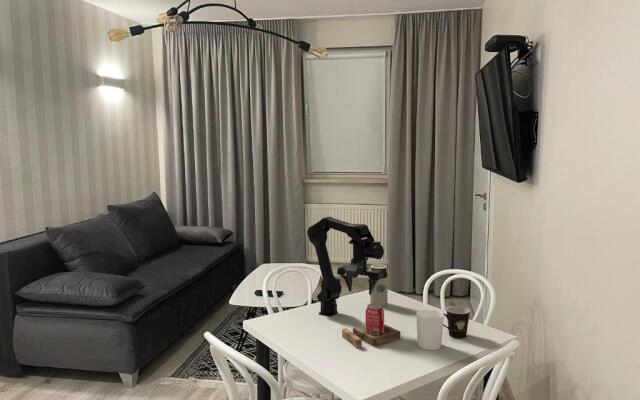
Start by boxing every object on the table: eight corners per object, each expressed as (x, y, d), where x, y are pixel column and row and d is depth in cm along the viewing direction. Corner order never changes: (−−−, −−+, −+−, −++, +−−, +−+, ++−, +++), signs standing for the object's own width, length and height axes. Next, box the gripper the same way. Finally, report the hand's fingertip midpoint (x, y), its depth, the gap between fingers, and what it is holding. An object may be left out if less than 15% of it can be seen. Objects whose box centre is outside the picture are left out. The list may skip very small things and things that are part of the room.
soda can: (378, 331, 189) (378, 301, 188) (387, 338, 183) (387, 307, 181) (362, 334, 186) (362, 304, 185) (371, 341, 180) (371, 309, 179)
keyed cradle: (352, 335, 186) (352, 328, 186) (378, 328, 193) (378, 321, 193) (374, 346, 176) (374, 339, 176) (400, 338, 183) (400, 331, 182)
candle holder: (427, 353, 170) (428, 320, 168) (410, 343, 178) (410, 312, 177) (449, 348, 174) (449, 315, 173) (431, 338, 183) (431, 307, 181)
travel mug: (370, 301, 228) (370, 263, 226) (387, 301, 227) (387, 264, 225) (370, 306, 220) (370, 268, 218) (387, 307, 219) (388, 268, 218)
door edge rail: (361, 347, 175) (361, 339, 175) (356, 348, 175) (356, 340, 174) (346, 335, 186) (346, 328, 186) (342, 336, 185) (342, 329, 185)
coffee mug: (470, 333, 188) (471, 308, 187) (467, 341, 180) (468, 315, 179) (440, 328, 193) (440, 304, 192) (436, 336, 185) (436, 310, 184)
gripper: (329, 256, 194) (330, 294, 196) (371, 262, 184) (371, 302, 185) (343, 251, 203) (344, 288, 205) (384, 256, 193) (384, 294, 195)
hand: (360, 293), depth 197 cm, fingers open, 9 cm apart
